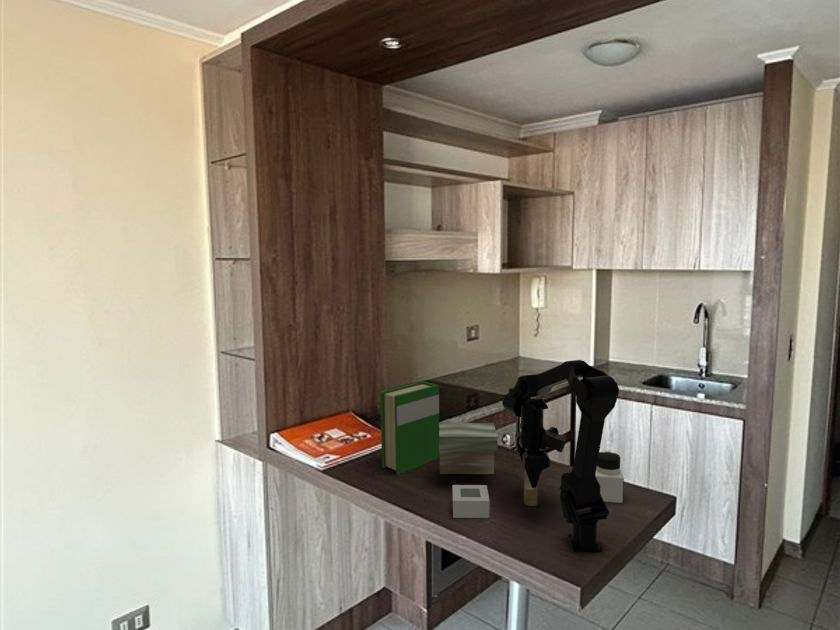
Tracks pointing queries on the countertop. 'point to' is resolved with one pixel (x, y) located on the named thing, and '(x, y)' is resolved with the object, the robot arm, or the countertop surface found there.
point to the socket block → (470, 501)
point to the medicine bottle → (610, 477)
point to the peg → (529, 492)
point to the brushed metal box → (467, 448)
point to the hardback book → (409, 426)
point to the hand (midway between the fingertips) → (531, 480)
